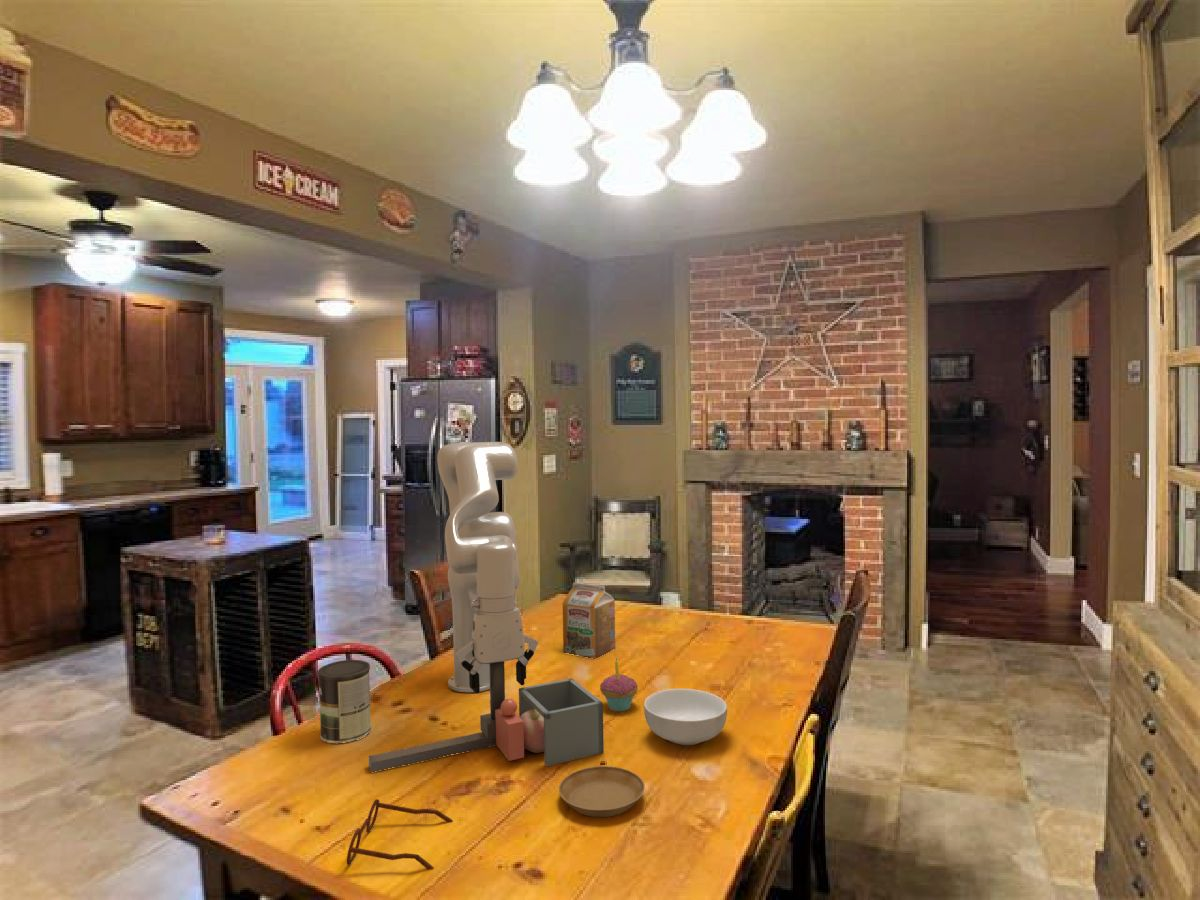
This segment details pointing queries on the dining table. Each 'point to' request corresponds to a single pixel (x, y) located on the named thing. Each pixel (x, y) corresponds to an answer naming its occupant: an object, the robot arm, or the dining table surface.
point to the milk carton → (588, 621)
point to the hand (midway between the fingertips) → (498, 687)
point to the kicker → (503, 717)
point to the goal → (566, 719)
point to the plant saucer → (601, 790)
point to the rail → (429, 751)
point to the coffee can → (344, 701)
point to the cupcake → (618, 690)
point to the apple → (533, 731)
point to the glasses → (367, 822)
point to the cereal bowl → (685, 715)
